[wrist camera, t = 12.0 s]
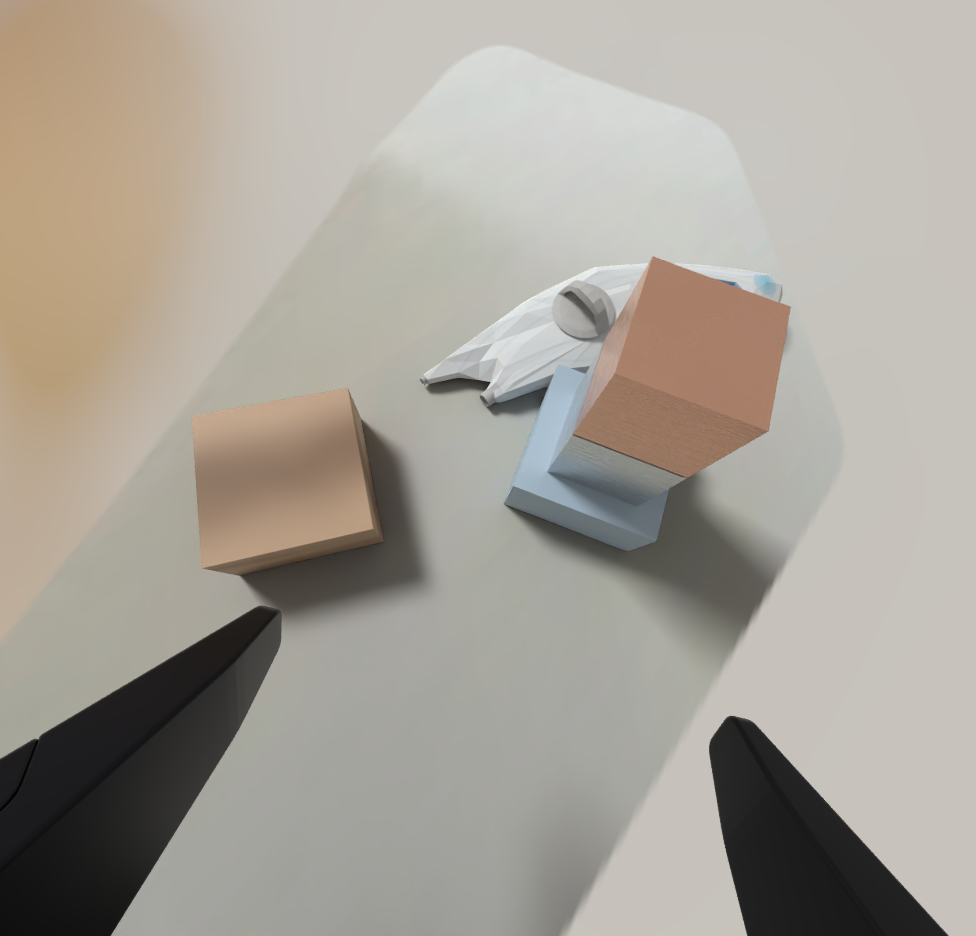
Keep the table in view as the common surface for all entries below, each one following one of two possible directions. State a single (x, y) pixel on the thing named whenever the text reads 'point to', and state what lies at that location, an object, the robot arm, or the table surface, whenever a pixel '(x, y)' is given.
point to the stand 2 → (568, 498)
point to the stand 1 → (283, 483)
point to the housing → (672, 385)
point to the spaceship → (564, 329)
